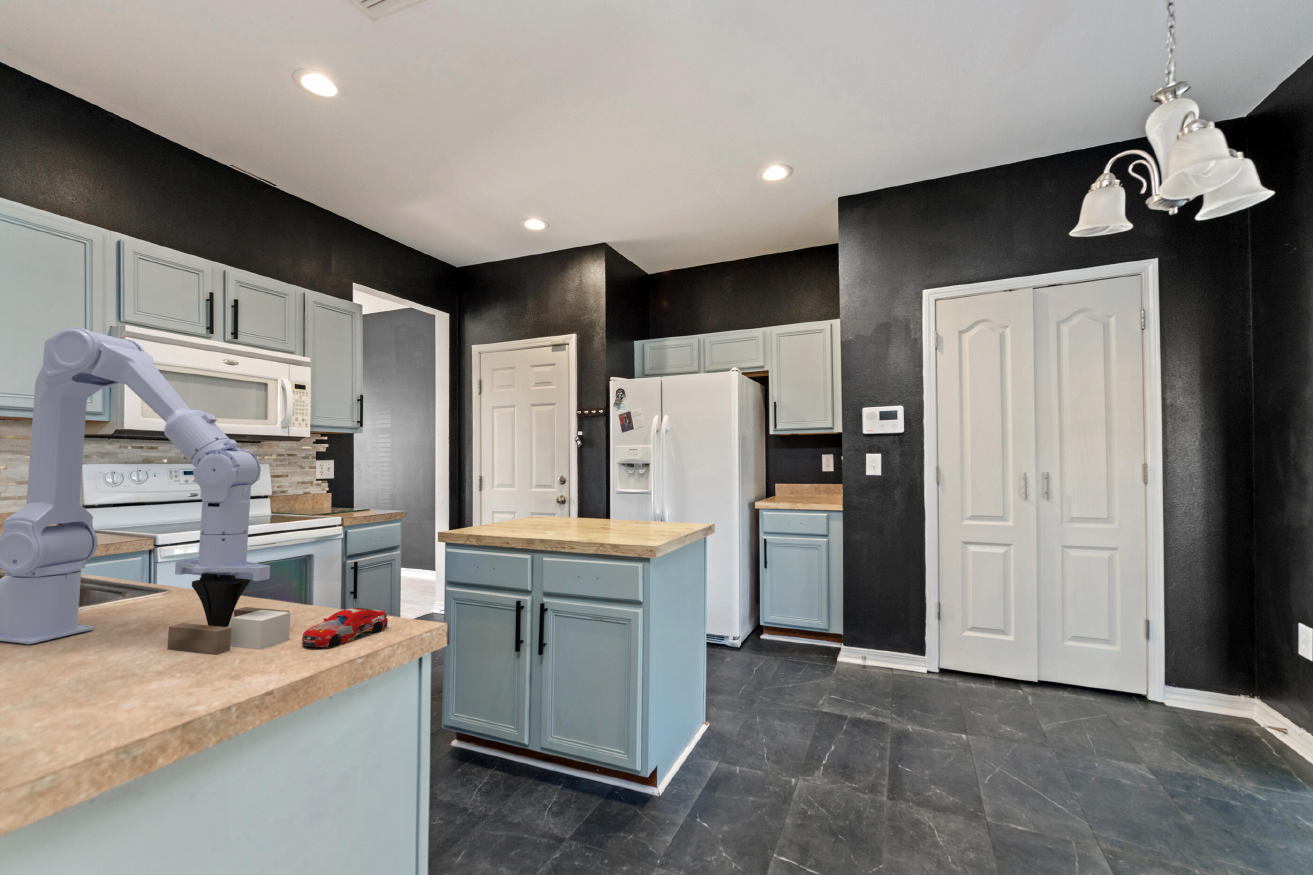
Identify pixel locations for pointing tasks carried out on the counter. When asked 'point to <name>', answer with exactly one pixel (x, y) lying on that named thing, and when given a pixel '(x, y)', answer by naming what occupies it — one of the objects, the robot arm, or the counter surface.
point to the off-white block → (260, 629)
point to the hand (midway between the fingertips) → (218, 627)
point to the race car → (345, 627)
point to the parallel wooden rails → (204, 635)
